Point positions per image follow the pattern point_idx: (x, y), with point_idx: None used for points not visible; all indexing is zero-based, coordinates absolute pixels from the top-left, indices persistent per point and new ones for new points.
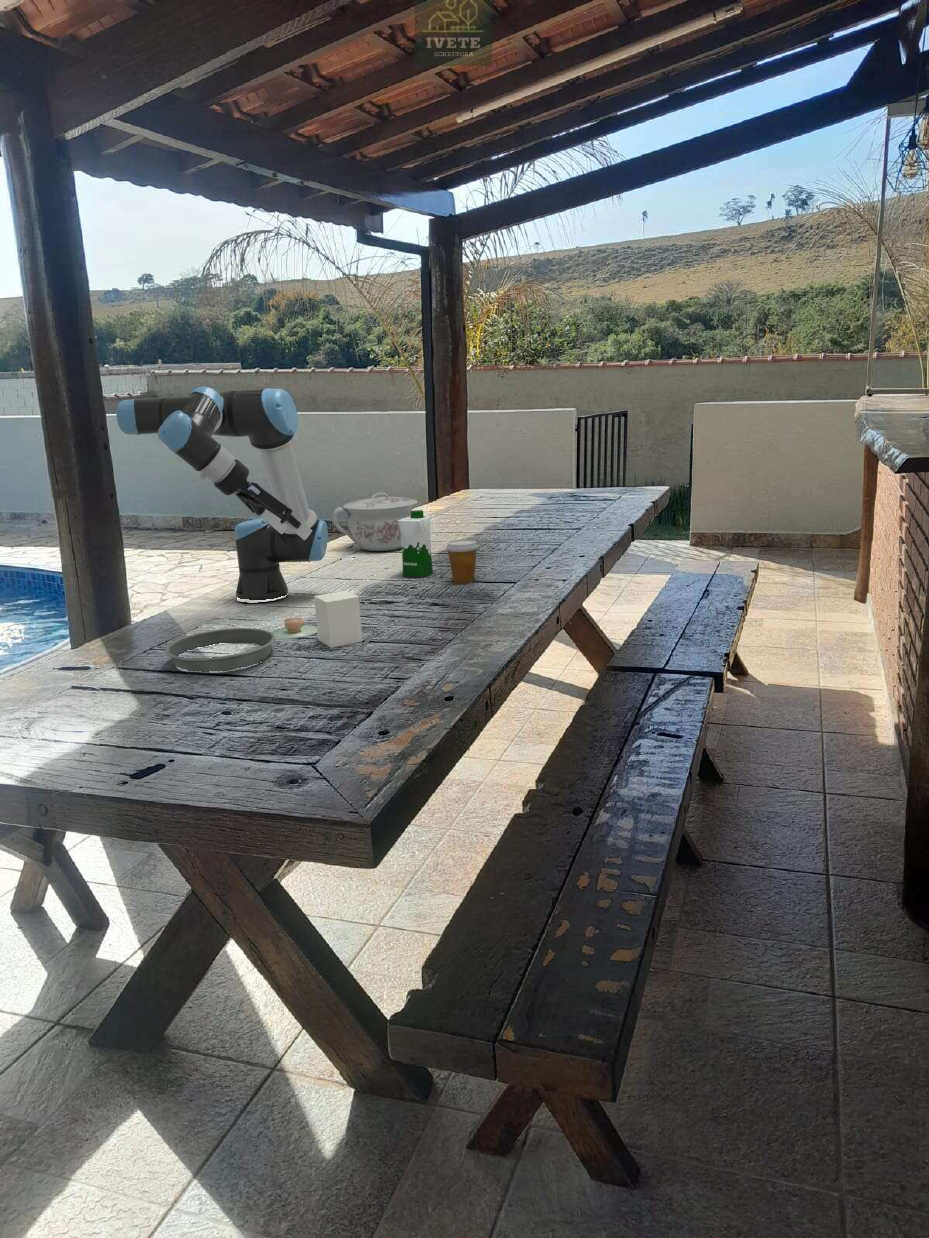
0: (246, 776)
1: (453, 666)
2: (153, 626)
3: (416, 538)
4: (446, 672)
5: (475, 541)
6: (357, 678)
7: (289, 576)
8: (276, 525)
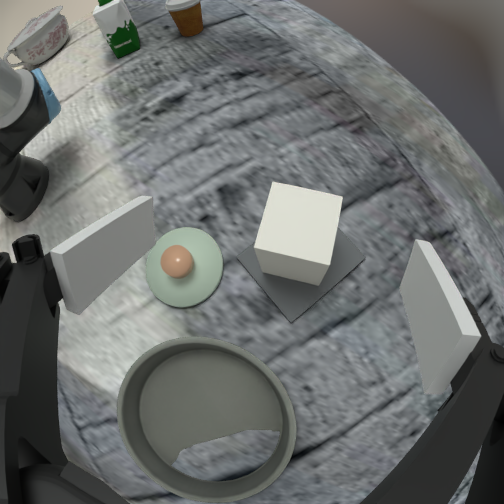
0: None
1: (487, 227)
2: None
3: (122, 18)
4: (498, 247)
5: None
6: None
7: None
8: (130, 251)
